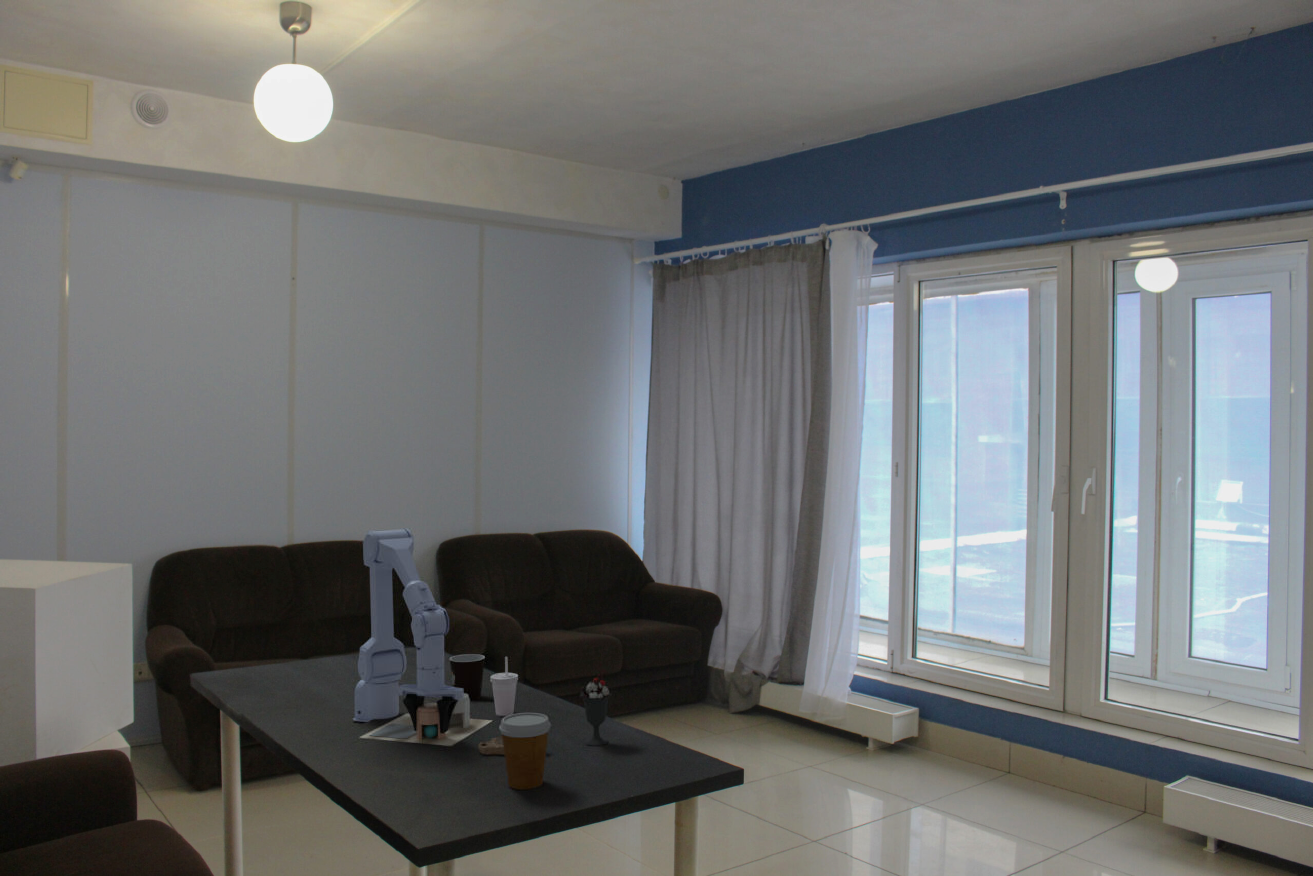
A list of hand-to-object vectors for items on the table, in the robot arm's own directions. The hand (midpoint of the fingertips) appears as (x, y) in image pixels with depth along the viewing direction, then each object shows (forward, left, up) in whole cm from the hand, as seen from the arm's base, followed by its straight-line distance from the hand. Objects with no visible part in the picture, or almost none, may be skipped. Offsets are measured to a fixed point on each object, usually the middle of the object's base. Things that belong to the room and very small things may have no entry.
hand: (431, 730), depth 208 cm
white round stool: (+1, +9, -1) cm, 9 cm away
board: (-4, +5, -2) cm, 7 cm away
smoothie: (+7, +21, -3) cm, 22 cm away
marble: (0, 0, 0) cm, 0 cm away
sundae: (+34, +9, -3) cm, 35 cm away
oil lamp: (+20, -3, -3) cm, 20 cm away
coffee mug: (-10, +36, -3) cm, 37 cm away
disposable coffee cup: (+30, -18, -3) cm, 35 cm away
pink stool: (0, 0, -1) cm, 1 cm away
